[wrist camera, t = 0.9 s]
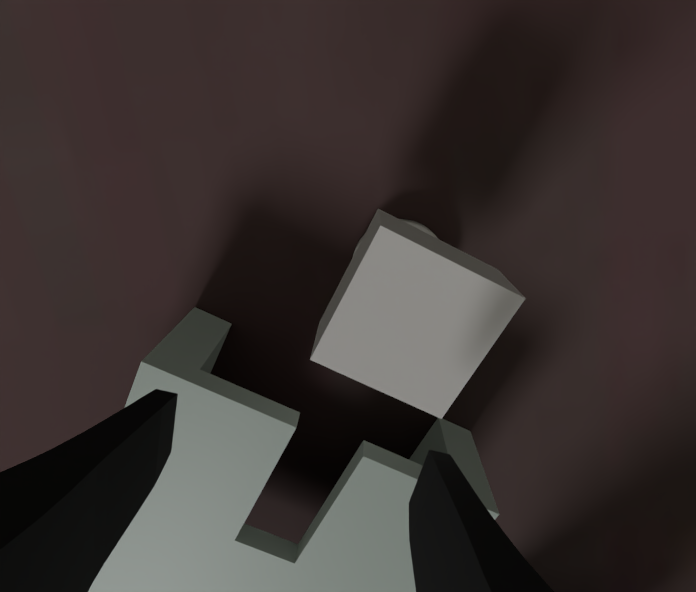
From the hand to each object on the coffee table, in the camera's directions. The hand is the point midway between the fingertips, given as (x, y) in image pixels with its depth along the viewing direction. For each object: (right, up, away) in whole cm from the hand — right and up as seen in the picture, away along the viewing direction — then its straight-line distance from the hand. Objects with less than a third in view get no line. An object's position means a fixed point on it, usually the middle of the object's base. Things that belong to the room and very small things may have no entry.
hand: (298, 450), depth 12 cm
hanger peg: (+4, +6, +8) cm, 11 cm away
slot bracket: (-2, -5, +13) cm, 14 cm away
